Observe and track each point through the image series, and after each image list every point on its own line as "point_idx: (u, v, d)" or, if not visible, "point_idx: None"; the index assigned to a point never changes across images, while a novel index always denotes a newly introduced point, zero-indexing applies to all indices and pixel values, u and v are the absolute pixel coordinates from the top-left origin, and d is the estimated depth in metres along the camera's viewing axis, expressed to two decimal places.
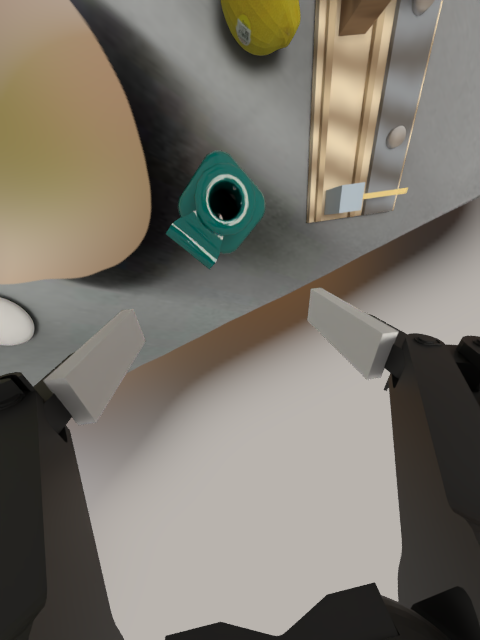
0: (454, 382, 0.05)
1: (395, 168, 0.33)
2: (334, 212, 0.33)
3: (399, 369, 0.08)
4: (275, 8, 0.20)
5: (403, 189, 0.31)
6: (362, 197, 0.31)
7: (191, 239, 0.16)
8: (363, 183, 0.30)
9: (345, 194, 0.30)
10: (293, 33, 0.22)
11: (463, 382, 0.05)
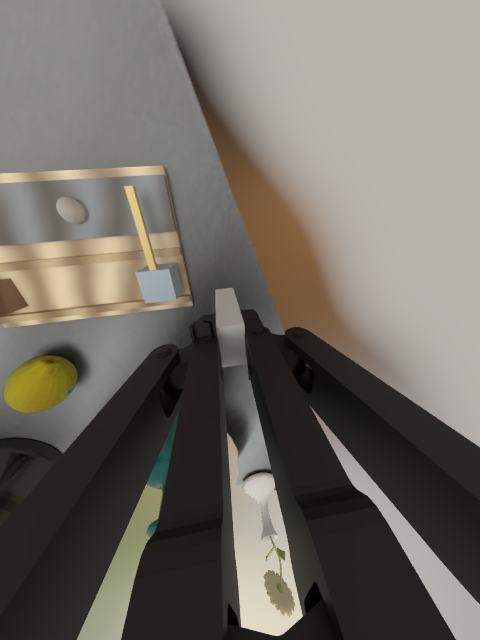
0: (278, 361, 0.07)
1: (106, 191, 0.21)
2: (177, 296, 0.25)
3: (250, 360, 0.09)
4: (45, 388, 0.26)
5: (128, 195, 0.18)
6: (153, 270, 0.22)
7: None
8: (136, 274, 0.22)
9: (154, 296, 0.23)
10: (50, 366, 0.26)
11: (282, 358, 0.07)
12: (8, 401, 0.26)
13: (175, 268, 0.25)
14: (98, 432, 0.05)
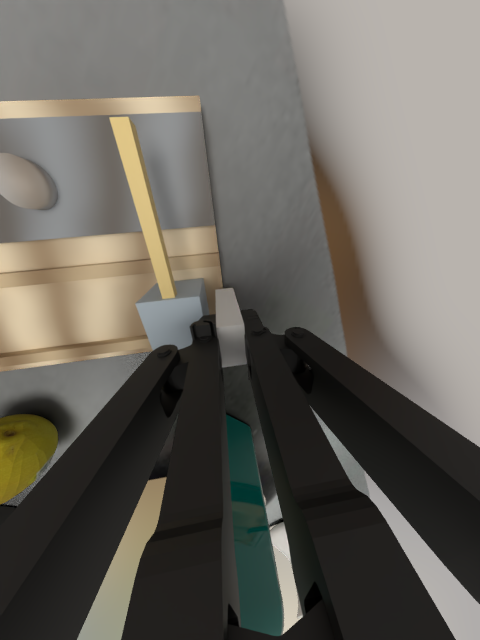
0: (278, 361, 0.07)
1: (90, 147, 0.11)
2: None
3: (250, 360, 0.09)
4: None
5: (120, 140, 0.08)
6: (169, 298, 0.12)
7: None
8: (138, 307, 0.11)
9: (170, 342, 0.13)
10: (7, 444, 0.16)
11: (282, 358, 0.07)
12: None
13: (203, 288, 0.15)
14: (98, 432, 0.05)
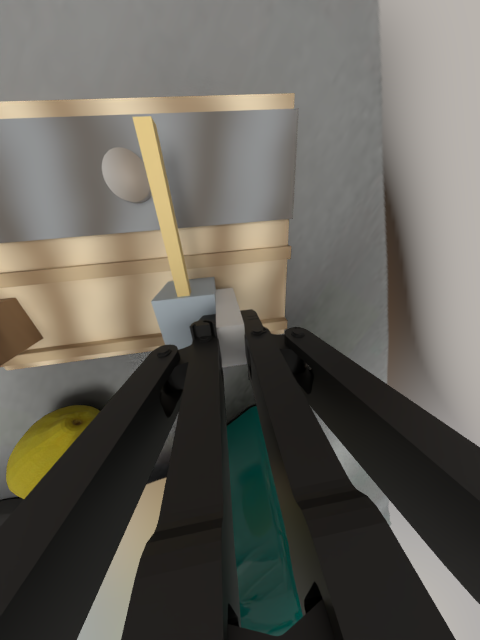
0: (278, 361, 0.07)
1: (191, 142, 0.11)
2: None
3: (250, 360, 0.09)
4: None
5: (142, 139, 0.08)
6: (185, 296, 0.12)
7: None
8: (154, 304, 0.12)
9: (184, 340, 0.13)
10: (77, 432, 0.17)
11: (282, 358, 0.07)
12: (13, 490, 0.16)
13: (215, 287, 0.15)
14: (98, 432, 0.05)
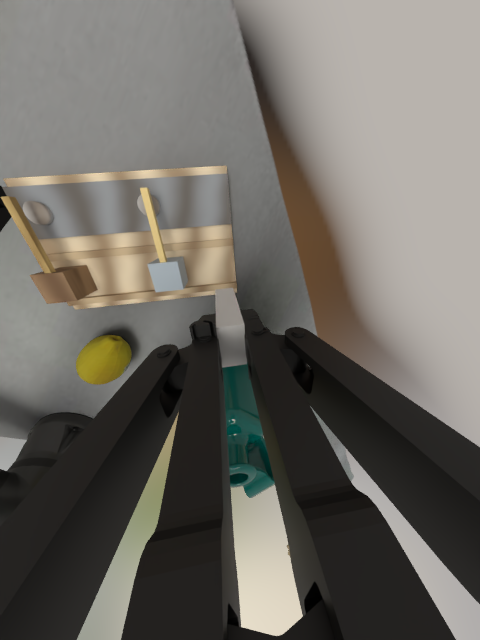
0: (278, 361, 0.07)
1: (178, 188, 0.24)
2: (184, 286, 0.28)
3: (250, 360, 0.09)
4: (111, 362, 0.30)
5: (143, 195, 0.21)
6: (163, 262, 0.25)
7: (257, 490, 0.24)
8: (148, 265, 0.24)
9: (164, 286, 0.26)
10: (116, 343, 0.30)
11: (282, 358, 0.07)
12: (81, 372, 0.29)
13: (182, 261, 0.28)
14: (98, 432, 0.05)
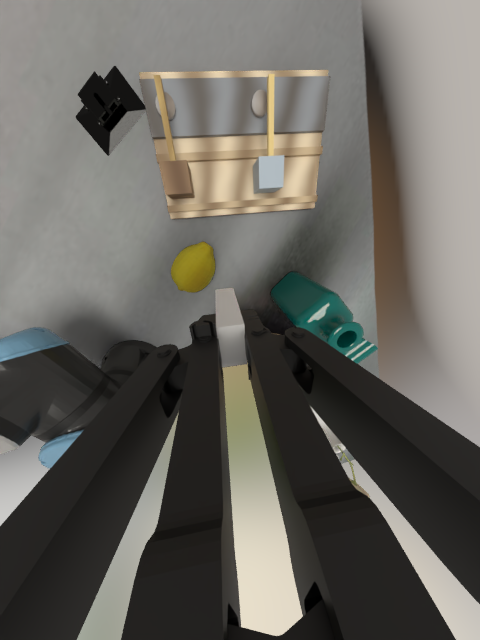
0: (278, 361, 0.07)
1: (286, 89, 0.27)
2: (279, 188, 0.31)
3: (250, 360, 0.09)
4: (207, 264, 0.33)
5: (270, 82, 0.24)
6: (272, 155, 0.28)
7: (359, 358, 0.27)
8: (259, 158, 0.27)
9: (267, 182, 0.29)
10: (210, 247, 0.33)
11: (282, 358, 0.07)
12: (181, 272, 0.32)
13: None
14: (98, 432, 0.05)
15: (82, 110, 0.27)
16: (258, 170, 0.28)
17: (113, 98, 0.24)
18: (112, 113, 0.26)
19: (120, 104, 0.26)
